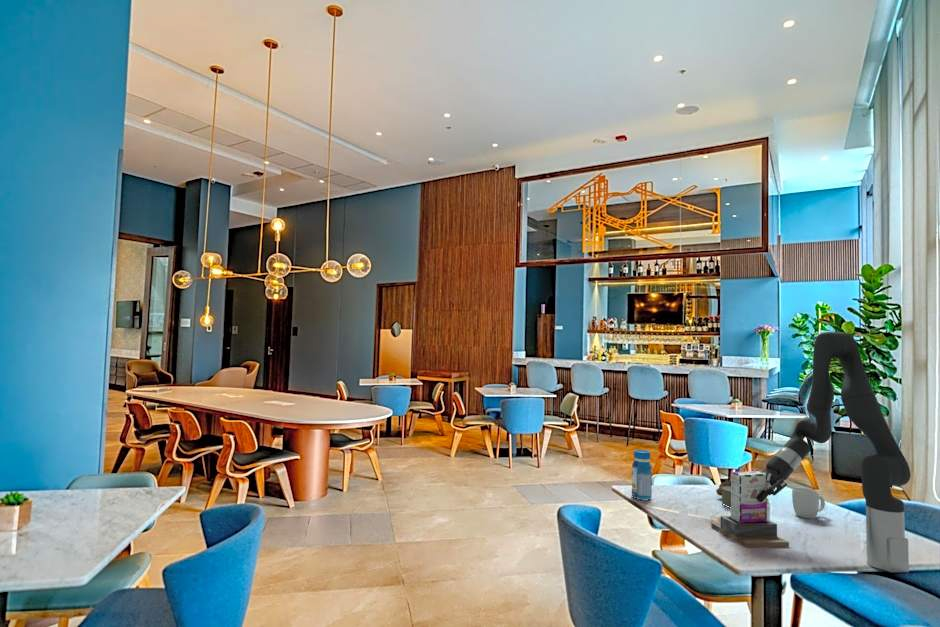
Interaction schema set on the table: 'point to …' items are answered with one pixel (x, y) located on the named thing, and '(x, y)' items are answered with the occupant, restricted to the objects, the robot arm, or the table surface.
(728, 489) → the dark grey bowl
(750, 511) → the candy bar box
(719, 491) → the decorative turtle
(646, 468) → the beverage bottle
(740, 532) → the display stand
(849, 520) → the table surface
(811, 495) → the mug
